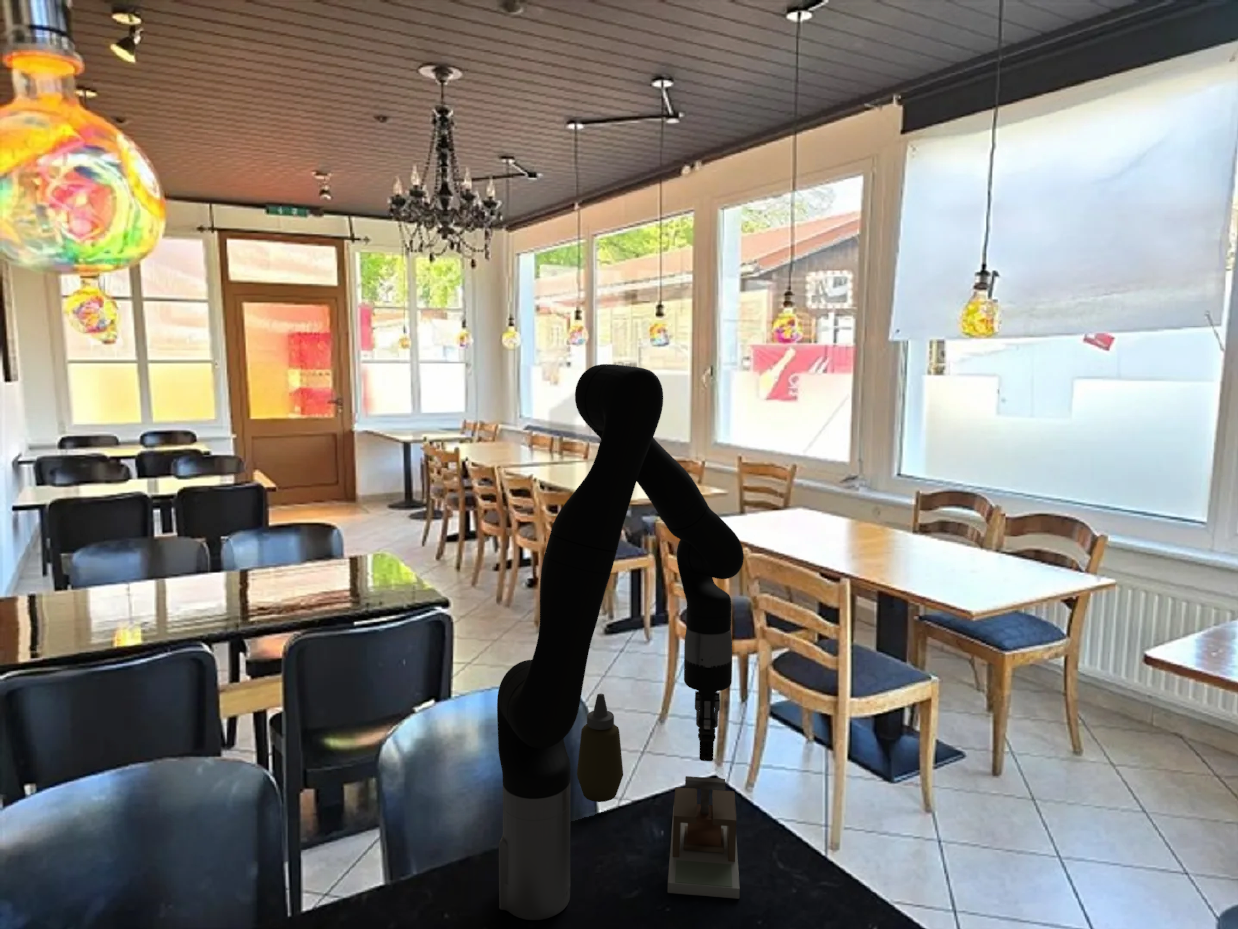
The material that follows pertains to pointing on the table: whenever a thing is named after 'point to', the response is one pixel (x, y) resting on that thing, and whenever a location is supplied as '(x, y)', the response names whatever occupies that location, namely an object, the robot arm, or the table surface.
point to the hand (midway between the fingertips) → (706, 758)
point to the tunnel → (700, 867)
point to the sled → (704, 818)
